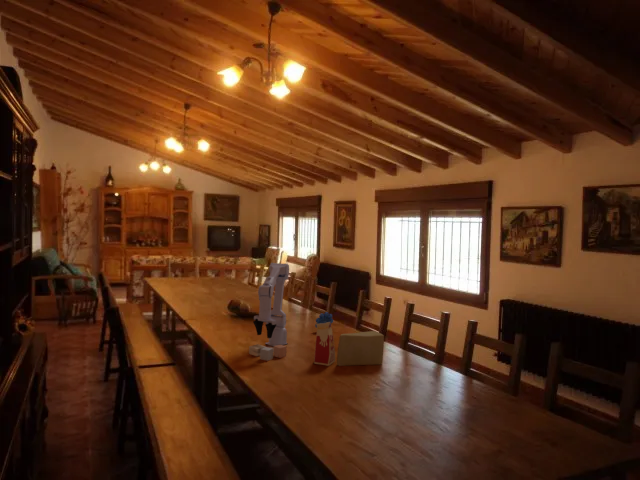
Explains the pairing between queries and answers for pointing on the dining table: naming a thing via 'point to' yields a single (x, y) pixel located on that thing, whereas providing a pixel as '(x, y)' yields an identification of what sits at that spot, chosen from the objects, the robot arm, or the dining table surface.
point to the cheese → (360, 349)
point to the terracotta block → (280, 351)
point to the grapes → (324, 318)
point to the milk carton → (324, 345)
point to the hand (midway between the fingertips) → (264, 336)
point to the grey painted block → (266, 353)
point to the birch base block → (255, 349)
